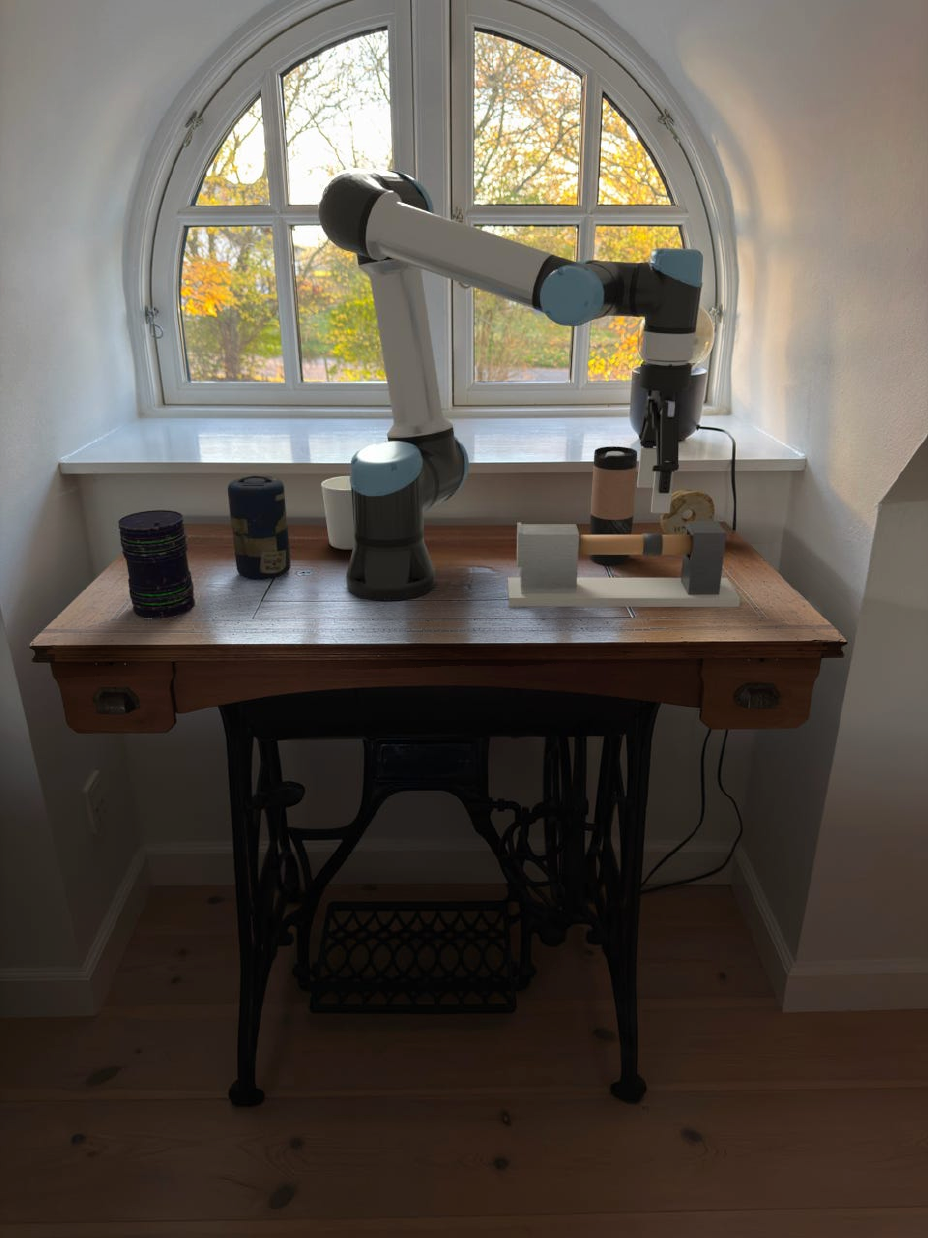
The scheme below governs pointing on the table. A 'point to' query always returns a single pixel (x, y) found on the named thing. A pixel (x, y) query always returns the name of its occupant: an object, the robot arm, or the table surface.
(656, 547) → the orange tube
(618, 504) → the travel mug
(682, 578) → the charcoal socket
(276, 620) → the table surface
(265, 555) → the canister
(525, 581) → the light grey block
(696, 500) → the stone disc
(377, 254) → the robot arm
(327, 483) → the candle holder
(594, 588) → the baseboard
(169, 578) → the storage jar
